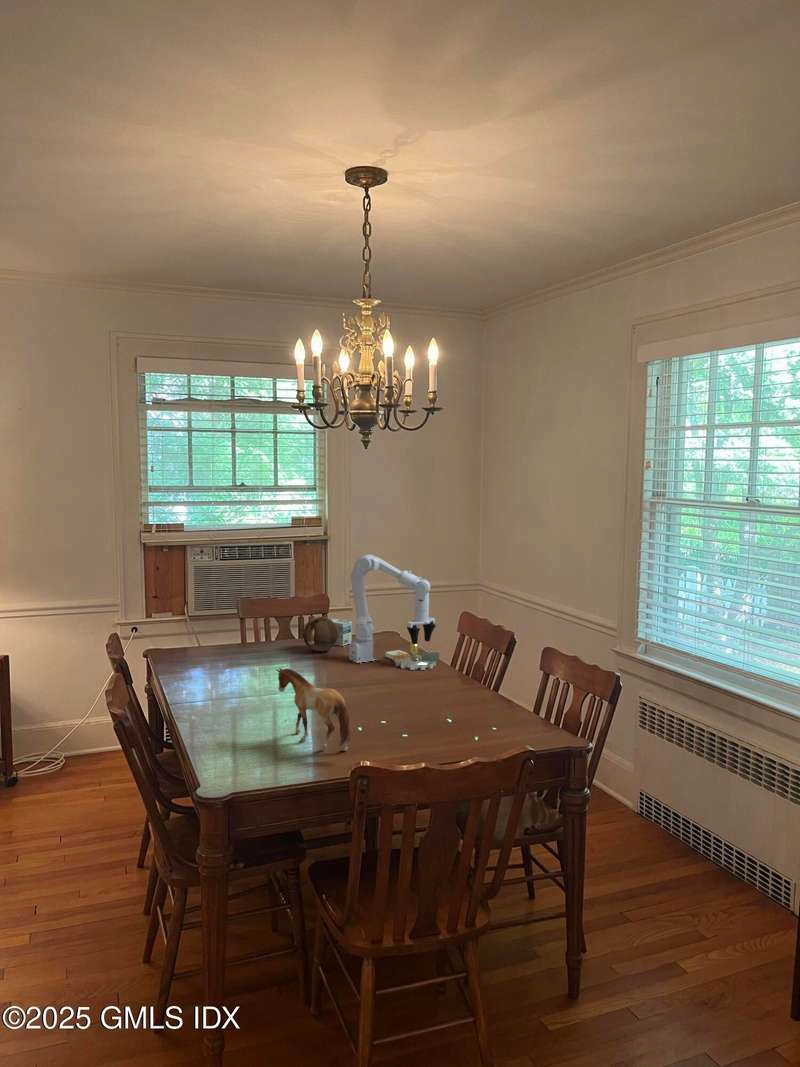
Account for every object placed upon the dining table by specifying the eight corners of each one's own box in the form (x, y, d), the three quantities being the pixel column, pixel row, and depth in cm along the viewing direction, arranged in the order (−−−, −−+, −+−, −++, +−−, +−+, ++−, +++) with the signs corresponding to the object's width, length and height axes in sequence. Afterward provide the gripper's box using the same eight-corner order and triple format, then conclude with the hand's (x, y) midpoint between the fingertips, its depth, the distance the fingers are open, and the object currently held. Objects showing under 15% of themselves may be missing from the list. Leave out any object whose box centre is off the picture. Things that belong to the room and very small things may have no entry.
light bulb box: (352, 644, 343) (352, 621, 342) (343, 647, 338) (343, 623, 337) (333, 641, 349) (333, 618, 348) (324, 644, 343) (324, 620, 342)
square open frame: (394, 660, 316) (395, 655, 316) (385, 657, 322) (385, 652, 321) (408, 658, 320) (408, 653, 320) (399, 655, 326) (399, 650, 326)
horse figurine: (274, 734, 228) (274, 667, 226) (294, 728, 234) (294, 662, 232) (344, 763, 207) (345, 690, 205) (364, 756, 213) (365, 684, 211)
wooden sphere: (325, 645, 341) (325, 612, 339) (344, 652, 329) (345, 618, 328) (296, 649, 331) (296, 616, 330) (315, 657, 320) (315, 622, 318)
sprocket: (441, 669, 303) (441, 658, 302) (397, 670, 301) (397, 658, 301) (435, 659, 319) (435, 647, 319) (393, 659, 317) (393, 648, 317)
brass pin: (413, 657, 322) (413, 643, 322) (408, 655, 325) (409, 642, 324) (419, 656, 324) (419, 642, 324) (414, 655, 327) (415, 641, 326)
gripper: (416, 613, 301) (416, 647, 302) (440, 608, 311) (440, 641, 312) (404, 610, 306) (403, 643, 307) (428, 606, 316) (427, 638, 317)
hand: (420, 642), depth 310 cm, fingers open, 7 cm apart
